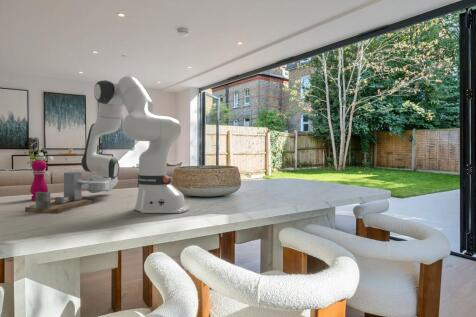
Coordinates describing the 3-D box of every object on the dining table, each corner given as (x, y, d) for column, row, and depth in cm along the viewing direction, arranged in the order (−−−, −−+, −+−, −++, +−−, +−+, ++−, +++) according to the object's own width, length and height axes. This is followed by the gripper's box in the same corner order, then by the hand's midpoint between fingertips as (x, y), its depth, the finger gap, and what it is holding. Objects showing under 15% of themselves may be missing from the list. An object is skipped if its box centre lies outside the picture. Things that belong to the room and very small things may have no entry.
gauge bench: (91, 203, 147) (91, 186, 147) (58, 213, 126) (58, 193, 125) (62, 202, 149) (62, 185, 149) (25, 211, 128) (25, 192, 127)
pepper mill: (39, 201, 151) (39, 157, 150) (26, 200, 152) (26, 157, 152) (51, 198, 158) (51, 156, 157) (38, 197, 160) (38, 156, 159)
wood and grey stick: (64, 202, 137) (64, 197, 137) (61, 203, 136) (61, 197, 136) (44, 202, 138) (44, 196, 138) (41, 202, 137) (41, 196, 137)
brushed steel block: (81, 199, 147) (81, 172, 147) (67, 202, 138) (67, 174, 137) (71, 198, 148) (71, 172, 148) (56, 202, 138) (56, 173, 138)
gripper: (75, 176, 163) (56, 179, 150) (114, 177, 161) (98, 180, 147) (75, 189, 164) (56, 193, 150) (114, 190, 161) (98, 194, 147)
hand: (77, 187), depth 148 cm, fingers closed
